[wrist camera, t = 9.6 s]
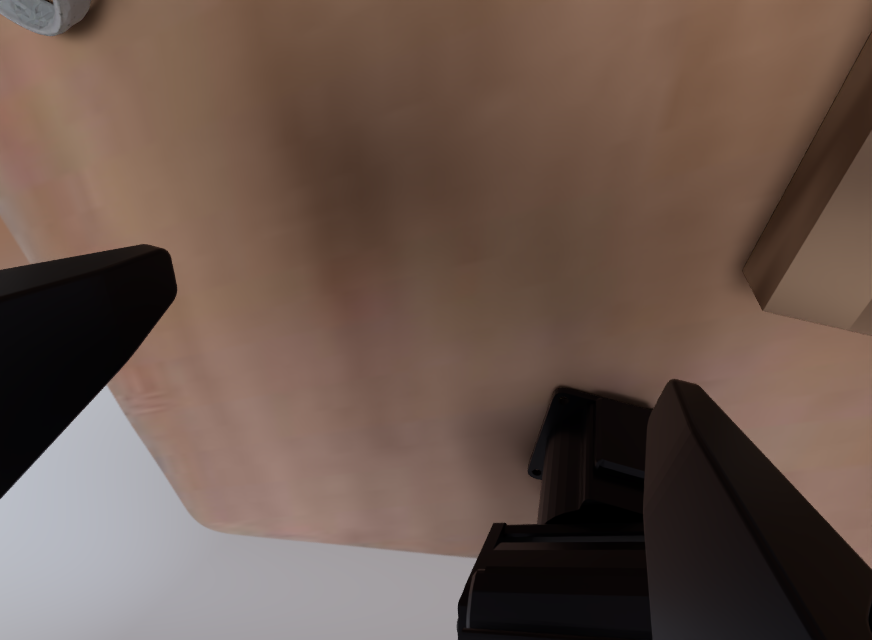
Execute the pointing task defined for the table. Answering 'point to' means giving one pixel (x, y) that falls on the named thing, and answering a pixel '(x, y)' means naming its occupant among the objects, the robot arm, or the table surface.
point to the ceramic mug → (45, 14)
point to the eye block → (825, 221)
